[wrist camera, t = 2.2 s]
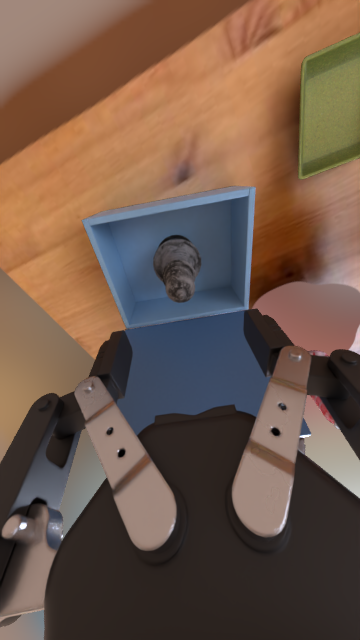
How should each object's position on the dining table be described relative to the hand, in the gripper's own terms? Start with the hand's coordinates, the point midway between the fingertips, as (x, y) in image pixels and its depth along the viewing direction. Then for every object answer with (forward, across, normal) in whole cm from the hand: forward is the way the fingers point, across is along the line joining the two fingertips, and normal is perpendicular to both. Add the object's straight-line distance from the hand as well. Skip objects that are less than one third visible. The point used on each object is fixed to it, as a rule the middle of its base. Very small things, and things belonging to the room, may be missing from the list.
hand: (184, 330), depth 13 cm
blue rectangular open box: (+17, 0, 0) cm, 17 cm away
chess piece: (+17, 0, 0) cm, 17 cm away
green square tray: (+17, -18, -11) cm, 27 cm away
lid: (+3, 0, +7) cm, 8 cm away
